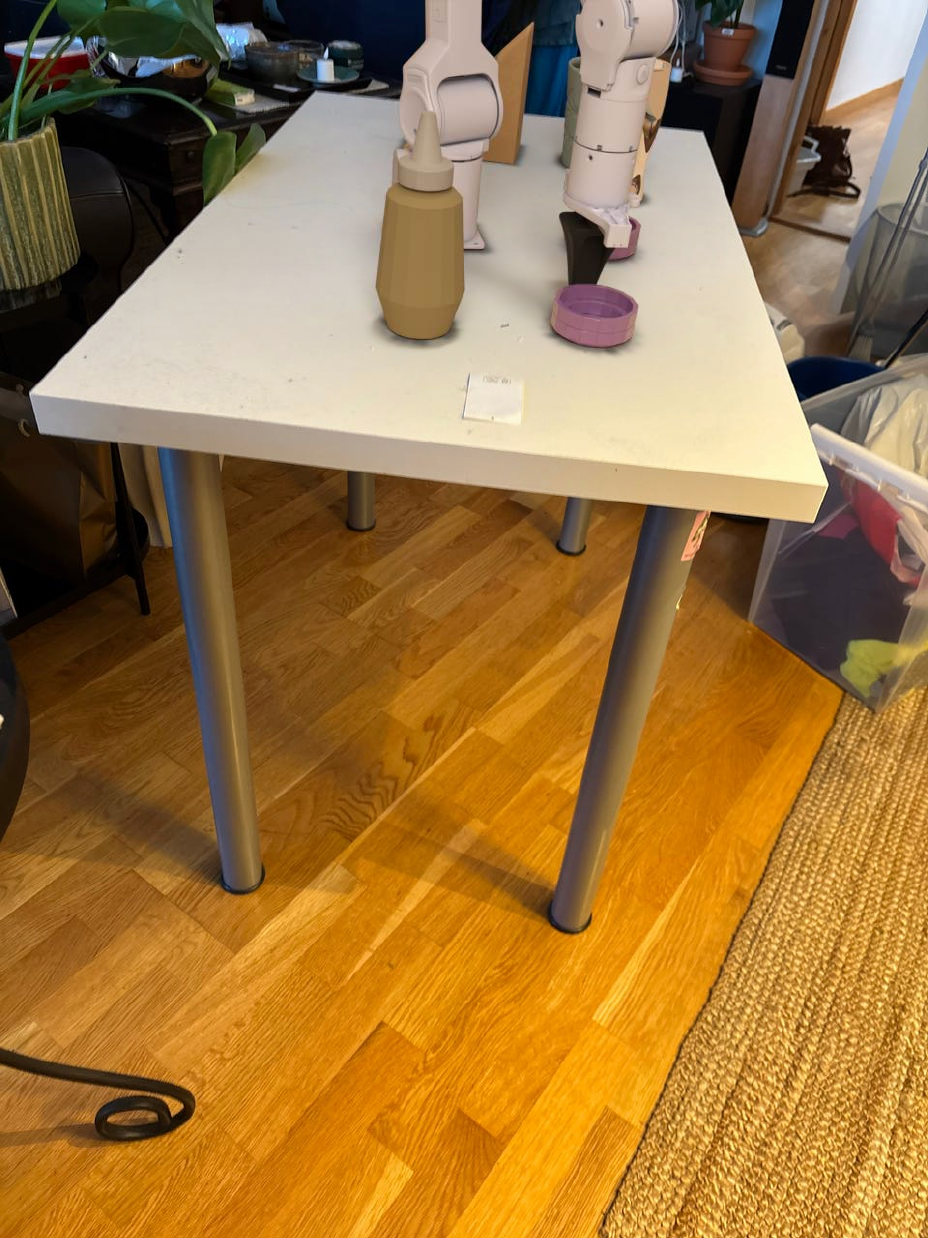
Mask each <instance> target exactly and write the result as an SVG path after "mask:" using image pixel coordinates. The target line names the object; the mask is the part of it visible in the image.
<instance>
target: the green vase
mask: <svg viewBox="0 0 928 1238" xmlns="http://www.w3.org/2000/svg"><path fill="white" fill-rule="evenodd" d="M580 65H581V56H577V57H573V58H571V59H570V60H569V61H568V67H567V89H566V96H567V100H566V102H565V110H564V111H565V112H564V123H563V140H562V149H561V163H562V165H563V166H564V167H566V169H570V164H571V157H572V150H573V144H574V137H575V131H576V124H577V118H578V111H579V104H580V98H581V91H582V84H583V83H582V81H581V74H579V72H580Z"/></svg>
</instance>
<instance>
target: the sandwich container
mask: <svg viewBox="0 0 928 1238" xmlns="http://www.w3.org/2000/svg"><path fill="white" fill-rule="evenodd" d="M534 28H535V22H534V21H532V22H531V23H530V24H529V25H528V26H526V27H525V28H524V29H523V30H522V31H521V32H520V33H519V34H517V36H515V37H514V38H513V39H511V40H510V42H509V43H508V44H506V45H505V46H504V47H503V48H502V49H501V50H500V51H499V52H498V53H496V55H495V56H493V57H494V59H495V60H496V61H497V63H498V82H499V88H500V92H501V96H502V100H503V120H502V124H501V127H500V130H499V132H498V134H497V135H496V136H495V137H494V138H493V139H492V140H490V141H489V149H488V151H486V152H483V158H482V161H487V162H493V163H494V162H496V163H503V164H509V165H514V164H515V161H516V159H517V157H518V154H519V151H520V147H521V139H522V134H523V133H522V131H523V124H524V116H525V107H526V98H527V90H528V89H527V88H528V81H529V80H528V79H529V71H530V63H531V56H532V55H531V54H532V46H533V37H534ZM405 148H409V144H408V143H407V141H406V142H405V144H404V146H403V148H402V149H405Z"/></svg>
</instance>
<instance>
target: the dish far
mask: <svg viewBox="0 0 928 1238" xmlns="http://www.w3.org/2000/svg"><path fill="white" fill-rule="evenodd" d="M629 222H630V224H631V225H632V229H631V234H630V239H629V244H628V247H627V248H615V250H614V251H613V253H612V254H611V256H610V257H609V259H608V261H618V260H622V259H625V258H627V257H630V256H632V255H633V254H636V251H637V247H638V242H639V239H640V233H641V227H642V224H641V223H640V222H639V221H638V220H637V219H636V218H634V217H632V216H631V215H629Z"/></svg>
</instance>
